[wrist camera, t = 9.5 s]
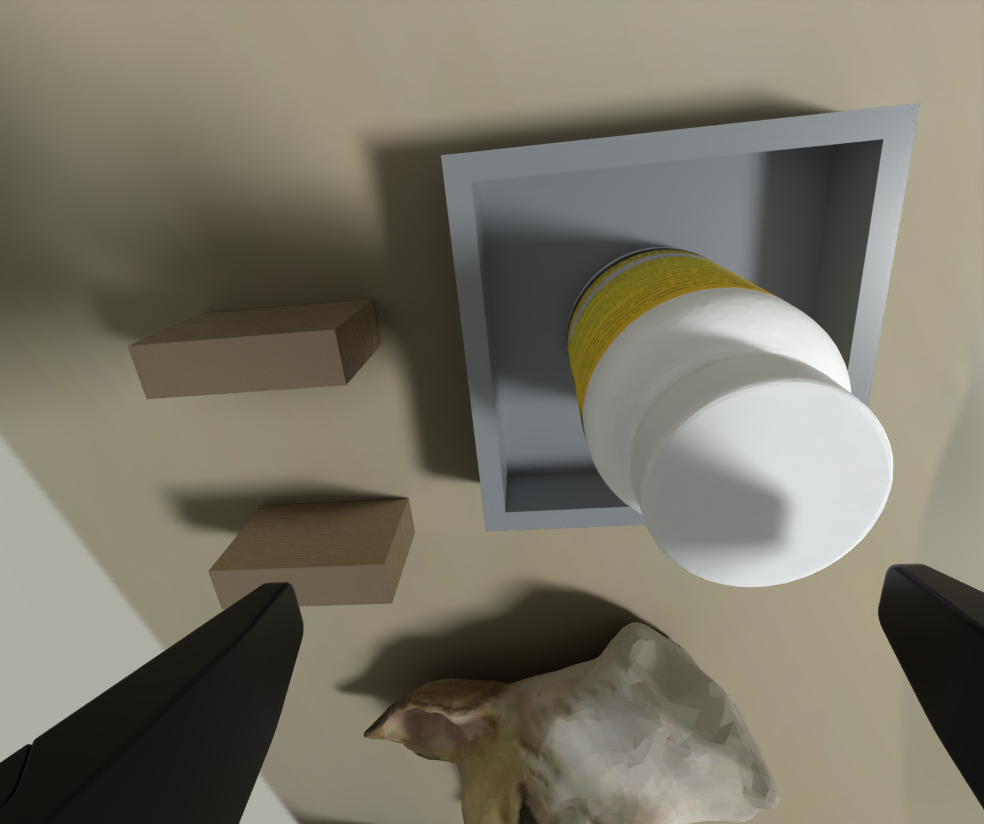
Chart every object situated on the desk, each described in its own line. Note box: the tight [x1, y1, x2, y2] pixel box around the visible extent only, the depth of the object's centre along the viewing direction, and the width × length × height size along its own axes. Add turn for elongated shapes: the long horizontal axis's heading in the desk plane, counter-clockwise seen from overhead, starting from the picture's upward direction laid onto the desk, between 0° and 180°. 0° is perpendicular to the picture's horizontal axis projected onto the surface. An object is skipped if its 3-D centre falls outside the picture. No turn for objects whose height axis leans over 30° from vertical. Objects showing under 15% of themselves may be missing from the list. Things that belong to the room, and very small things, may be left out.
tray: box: [441, 103, 920, 531], centre depth 17 cm, size 11×11×3 cm
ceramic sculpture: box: [364, 622, 780, 824], centre depth 22 cm, size 11×9×15 cm
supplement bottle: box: [567, 247, 893, 587], centre depth 14 cm, size 5×5×10 cm
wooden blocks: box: [128, 299, 415, 609], centre depth 19 cm, size 9×6×4 cm, turn 5°
